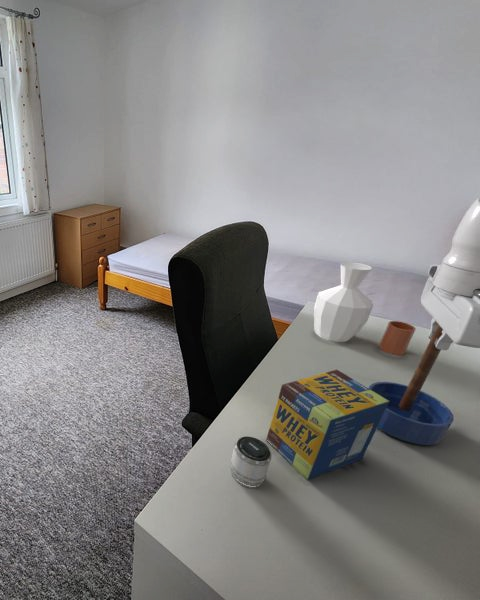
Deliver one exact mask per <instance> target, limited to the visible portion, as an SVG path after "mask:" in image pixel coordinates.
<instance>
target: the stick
mask: <svg viewBox="0 0 480 600" xmlns="http://www.w3.org/2000/svg"><path fill="white" fill-rule="evenodd" d="M442 331H443V329H442V328H441V327H440V325H439V324H438V326H437V328H436V330H435V332H434V334H433V336H432V338H431V340H430V339H429V340H430V341H429V343H428V345H427V346H426V349H425V351H424V353H423V355H422V356H421V359H420V360H419V362H418V365H417V367H416V369H415V371H414V373H413V375H412V377H411V379H410V381H409V383H408V385H407V386H408V387H407V389H406V391H405V393H404V395H403V397H402V399H401V401H400V404H399V407H400V408H401V409H403V410H405V411H410V410H411V408H412V406H413V404H414V402H415V400H416V398H417V396H418V394H419V392H420V391H422V388H423V386H424V384H425V382H426V380H427V379H428V376H429V375H430V372H431V370H432V369H433V367H434V365H435V363H436V361H437V359H438V357H439V355H440V353H441V351H442V350H441V349H437V348H436V347H435V345H434V342H435V340H436V338H440V337H441V335H442Z"/></svg>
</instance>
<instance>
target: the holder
mask: <svg viewBox="0 0 480 600" xmlns="http://www.w3.org/2000/svg"><path fill="white" fill-rule="evenodd" d="M387 323H388V324H387V325H386V328H385V330H384V332H383V335H382V338H381V340H380V342H379V345H378V348H379V349H380V350H381V351H383V352H385V353H387V354H390V355H393V356H394V355H395V356H404V355H405V354H406V352H407V349H408V347H409V344H410V343H411V341H412V338H413V336H414V334H415V332H416V330H417V329H416V327H415V326H414V325H412V324H410V323H407V322H404V321H399V320H390V321H389V322H387Z"/></svg>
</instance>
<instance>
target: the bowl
mask: <svg viewBox="0 0 480 600" xmlns="http://www.w3.org/2000/svg"><path fill="white" fill-rule="evenodd" d="M407 387H408V385H406V384H402V383H397V382H391V381H377V382H373V383H371V384H370V385H368V386H367V388H368V389H370V390H372V391H373V392H375V393H377V394H378V395H380V396H382V397H383V398H385V399H387V400H389V401H390V402H389V404H388V406H387V408H386V410H385V412H384V414H383V416H382V418H381V420H380V422H379V425H378V427H377V429H379V430H380V431H381V432H383V433H386V434H388V435H389V436H392V437H394V438H396V439H398V440H401V441H404V442H408V443H411V444H415V445H421V446H434V445H437V444H440V443H441V442H442V441H443V439H444V438H445V436H446V434H447V433H448V431H449V429H450V428H451V425H453V422H454V420H455V419H454V414H453V412H452V411H451V409H450V408H449V407H448V406H447V405H446V404H445V403H443V402H442V401H441V400H439V399H438V398H436V397H435V396H432V395H431V394H429V393H427V392H426V391H422V390H420V392H419V394H418V396H417V398H416V400H415V402H414V404H413V406H412V408H411V410H410V411H405V410H403V409H401V408H400V407H399V404H400V401H401V399H402V397H403V395H404V393H405V391H406V389H407Z"/></svg>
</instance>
